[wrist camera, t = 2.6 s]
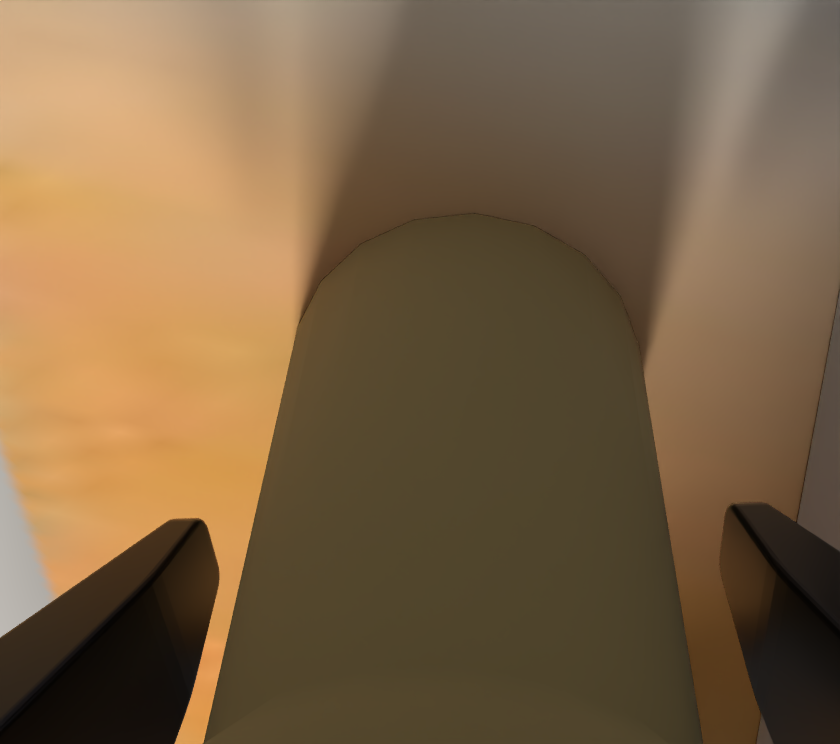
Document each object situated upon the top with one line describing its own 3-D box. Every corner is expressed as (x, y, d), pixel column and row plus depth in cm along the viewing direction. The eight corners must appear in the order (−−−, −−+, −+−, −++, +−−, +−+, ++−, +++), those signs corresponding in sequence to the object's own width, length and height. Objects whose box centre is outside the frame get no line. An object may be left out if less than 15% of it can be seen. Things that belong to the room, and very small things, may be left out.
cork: (418, 567, 14) (294, 1752, 5) (221, 336, 12) (-753, 1589, 3) (700, 432, 13) (1499, 1938, 3) (525, 134, 10) (1224, 1909, 1)
